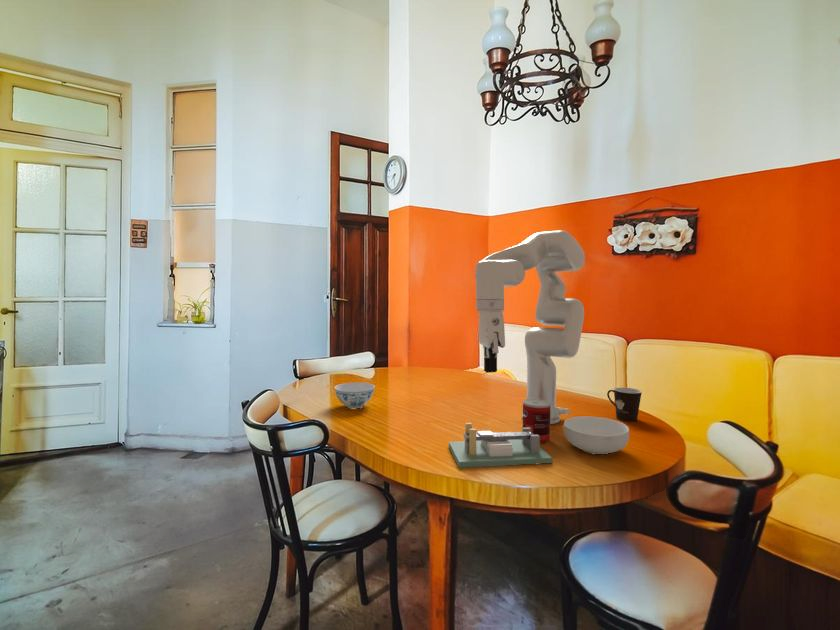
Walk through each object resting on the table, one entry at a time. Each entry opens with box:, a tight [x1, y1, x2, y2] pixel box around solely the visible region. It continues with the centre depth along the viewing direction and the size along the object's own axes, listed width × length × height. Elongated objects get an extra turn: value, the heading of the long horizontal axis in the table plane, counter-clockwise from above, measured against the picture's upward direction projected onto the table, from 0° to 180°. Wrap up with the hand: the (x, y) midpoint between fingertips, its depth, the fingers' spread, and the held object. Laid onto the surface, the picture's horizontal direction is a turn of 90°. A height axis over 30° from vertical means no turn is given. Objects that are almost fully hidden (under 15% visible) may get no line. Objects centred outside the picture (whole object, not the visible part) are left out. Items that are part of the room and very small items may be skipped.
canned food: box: [522, 398, 551, 443], centre depth 123 cm, size 8×8×11 cm
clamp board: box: [448, 422, 553, 469], centre depth 110 cm, size 24×14×8 cm, turn 96°
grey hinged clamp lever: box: [463, 430, 534, 441], centre depth 110 cm, size 19×4×2 cm, turn 96°
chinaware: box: [334, 382, 376, 409], centre depth 156 cm, size 15×15×8 cm
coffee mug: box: [606, 387, 642, 423], centre depth 144 cm, size 12×9×10 cm
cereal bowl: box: [563, 415, 630, 455], centre depth 114 cm, size 17×17×7 cm
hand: (490, 371), depth 115 cm, fingers closed
